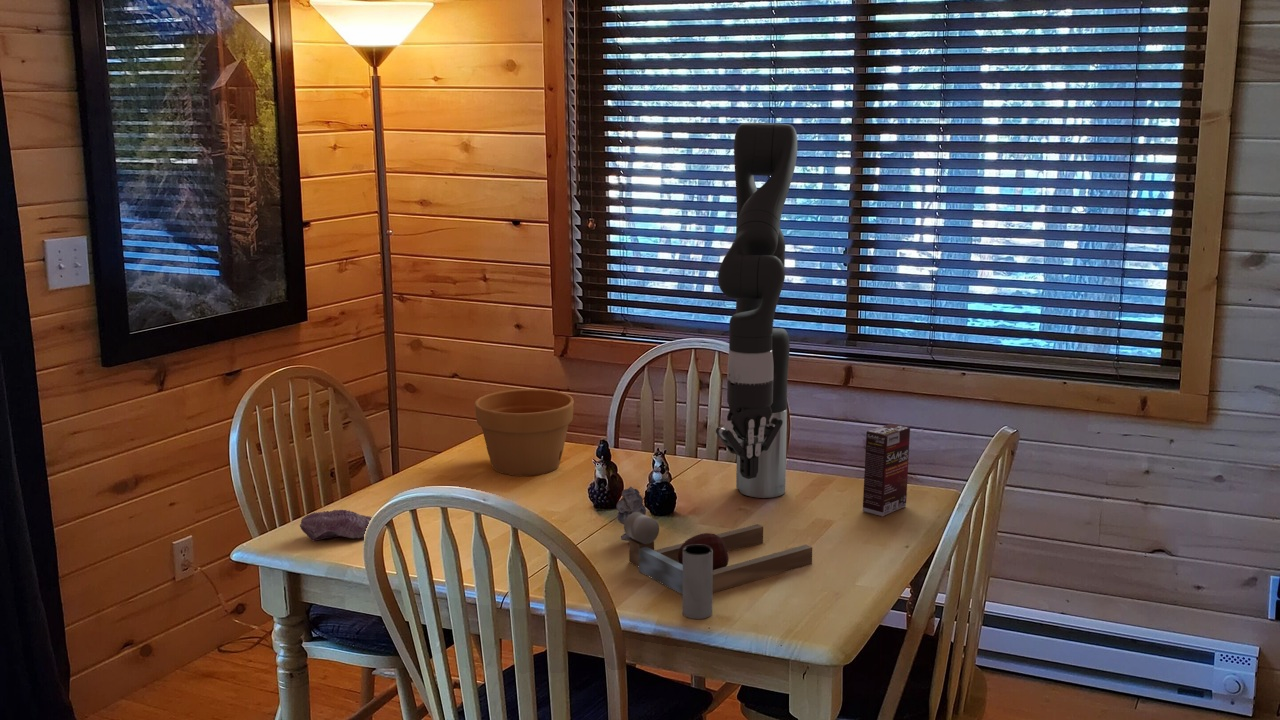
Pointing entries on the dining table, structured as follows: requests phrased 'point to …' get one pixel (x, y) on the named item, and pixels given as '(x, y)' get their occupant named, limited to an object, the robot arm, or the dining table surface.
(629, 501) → the grey lumpy rock
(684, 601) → the grey tube
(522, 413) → the flower pot
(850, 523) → the dining table surface
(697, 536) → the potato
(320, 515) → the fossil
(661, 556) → the bay
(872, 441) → the supplement box
